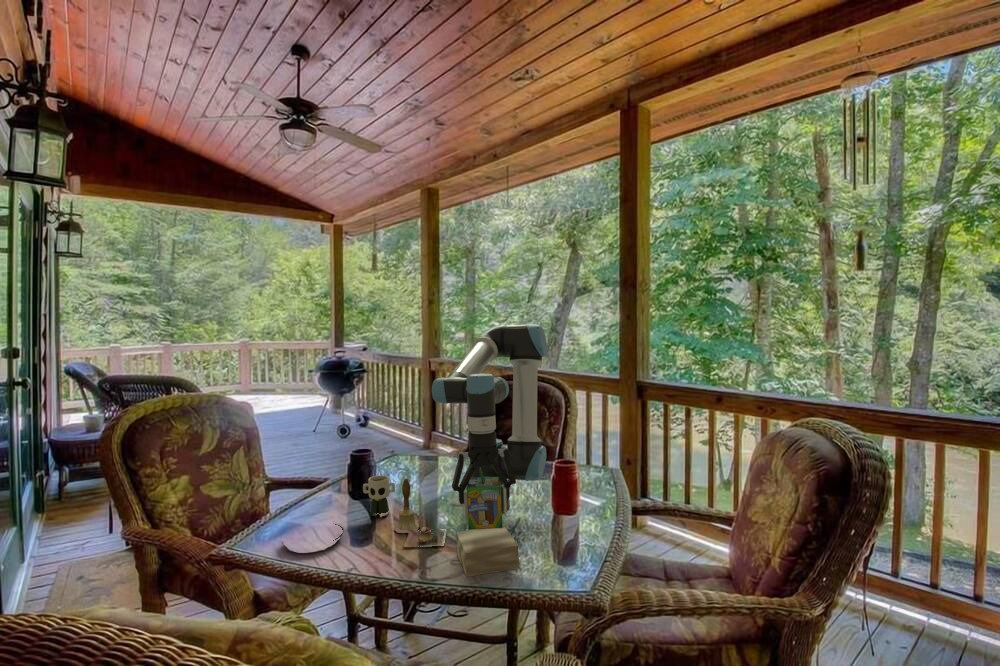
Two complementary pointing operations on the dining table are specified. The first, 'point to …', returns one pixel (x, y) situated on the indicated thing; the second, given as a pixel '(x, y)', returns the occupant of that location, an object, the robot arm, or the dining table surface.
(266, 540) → the dining table surface
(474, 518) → the chalk box
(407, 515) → the hand bell
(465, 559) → the birch block
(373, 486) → the character mug
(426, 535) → the dessert
